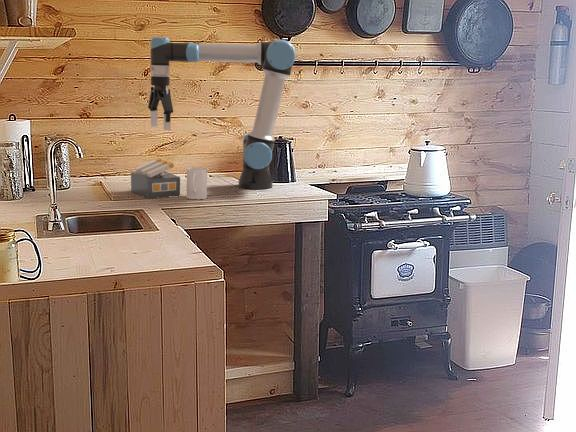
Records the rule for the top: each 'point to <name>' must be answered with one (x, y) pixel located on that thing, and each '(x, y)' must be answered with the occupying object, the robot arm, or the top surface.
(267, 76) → the robot arm
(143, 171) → the rocker
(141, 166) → the rocker
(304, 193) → the top surface
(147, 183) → the control box
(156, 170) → the rocker
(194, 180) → the mug
